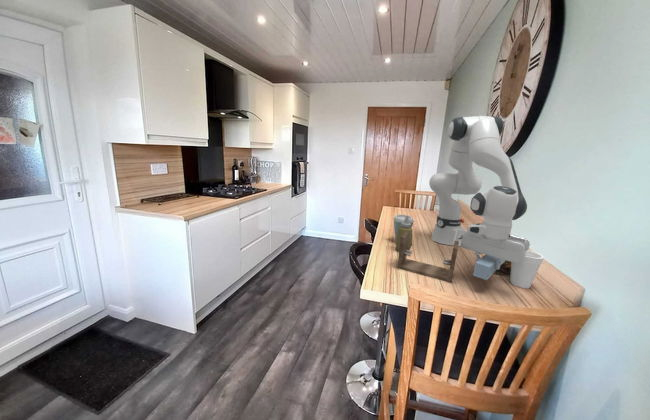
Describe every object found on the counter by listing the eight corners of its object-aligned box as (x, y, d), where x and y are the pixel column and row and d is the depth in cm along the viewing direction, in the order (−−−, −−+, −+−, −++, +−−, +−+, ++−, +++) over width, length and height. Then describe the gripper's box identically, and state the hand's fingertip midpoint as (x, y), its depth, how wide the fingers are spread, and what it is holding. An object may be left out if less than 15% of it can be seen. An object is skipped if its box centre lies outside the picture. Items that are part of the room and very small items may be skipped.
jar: (515, 269, 112) (522, 237, 109) (517, 279, 103) (525, 245, 99) (484, 262, 119) (490, 232, 115) (483, 270, 109) (490, 238, 106)
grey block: (485, 263, 102) (488, 252, 101) (498, 267, 99) (501, 255, 98) (472, 275, 91) (475, 262, 90) (486, 280, 88) (489, 267, 87)
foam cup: (509, 276, 105) (516, 247, 103) (537, 285, 99) (545, 254, 96) (502, 282, 99) (510, 252, 96) (532, 293, 93) (540, 260, 90)
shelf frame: (453, 272, 105) (458, 241, 102) (451, 282, 97) (457, 249, 94) (402, 260, 115) (406, 231, 112) (396, 268, 107) (400, 237, 104)
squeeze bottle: (410, 248, 130) (415, 215, 126) (411, 254, 122) (416, 219, 118) (394, 246, 132) (398, 213, 128) (394, 252, 124) (399, 217, 120)
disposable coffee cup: (414, 246, 135) (418, 219, 131) (395, 246, 133) (398, 218, 130) (405, 239, 145) (408, 214, 141) (387, 239, 143) (390, 213, 140)
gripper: (532, 237, 86) (523, 273, 90) (468, 223, 101) (462, 254, 104) (529, 241, 82) (519, 279, 85) (462, 225, 96) (456, 258, 100)
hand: (487, 265), depth 95 cm, fingers closed on grey block, 4 cm apart
